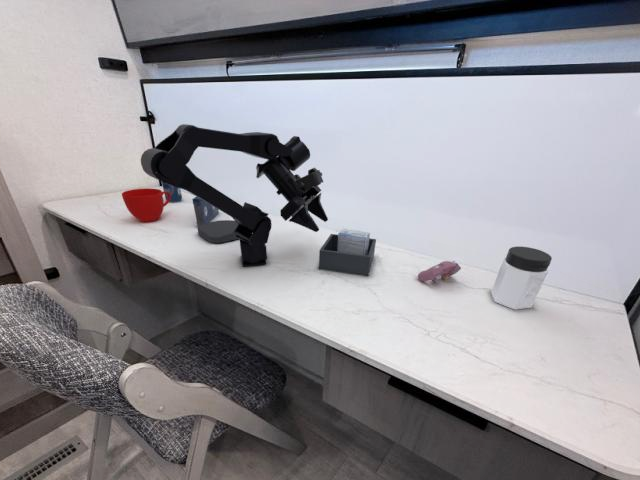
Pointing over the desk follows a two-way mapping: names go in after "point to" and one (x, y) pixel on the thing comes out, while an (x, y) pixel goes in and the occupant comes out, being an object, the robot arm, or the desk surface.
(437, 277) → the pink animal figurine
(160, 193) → the ceramic cup
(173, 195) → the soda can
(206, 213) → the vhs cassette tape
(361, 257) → the storage bin
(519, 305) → the jar
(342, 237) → the medicine box
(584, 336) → the desk surface
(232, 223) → the media streaming box
